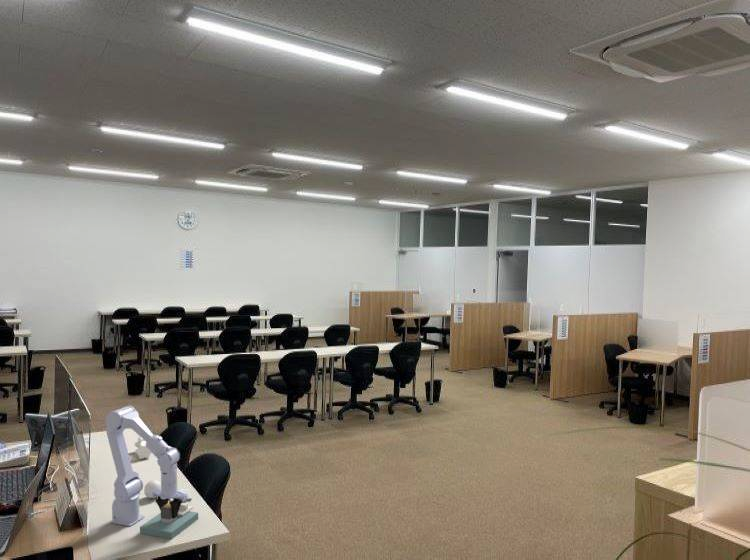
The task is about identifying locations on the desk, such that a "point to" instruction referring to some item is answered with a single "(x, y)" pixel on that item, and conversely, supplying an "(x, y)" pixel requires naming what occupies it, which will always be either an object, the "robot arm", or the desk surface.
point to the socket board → (168, 525)
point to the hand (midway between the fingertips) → (169, 516)
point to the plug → (167, 514)
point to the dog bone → (142, 449)
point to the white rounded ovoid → (152, 488)
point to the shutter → (184, 509)
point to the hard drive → (185, 491)
